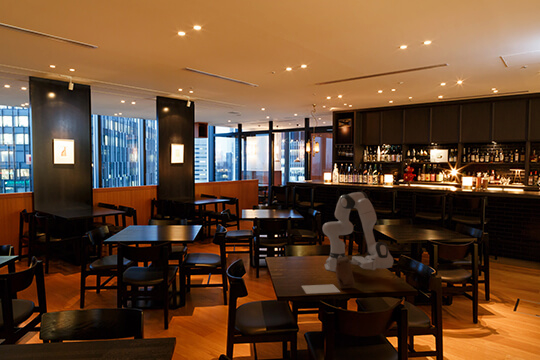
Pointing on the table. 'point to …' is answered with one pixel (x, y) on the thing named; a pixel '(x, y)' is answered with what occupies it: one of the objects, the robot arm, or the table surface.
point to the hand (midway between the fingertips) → (350, 262)
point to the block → (344, 273)
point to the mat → (320, 289)
